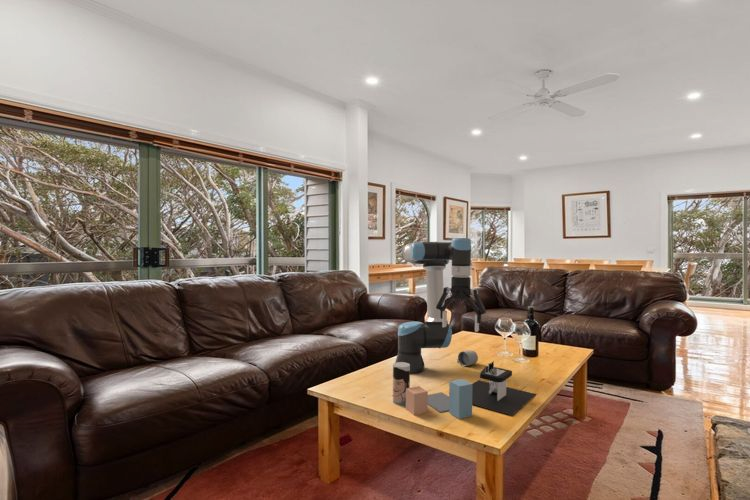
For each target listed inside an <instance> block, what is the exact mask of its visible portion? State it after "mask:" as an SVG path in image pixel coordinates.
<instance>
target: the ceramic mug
mask: <svg viewBox="0 0 750 500" xmlns="http://www.w3.org/2000/svg"><path fill="white" fill-rule="evenodd" d="M478 360H479V356H478V353H477V352H476V351H474V350H472V349H471V350H469V349H468V350H462V351H460V352H459V353H458V355H457V359H456V362H457V363H458V364H460V365H461V366H462V367H468V366H472V365H475V364H477V362H478Z"/></svg>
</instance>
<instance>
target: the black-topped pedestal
mask: <svg viewBox="0 0 750 500" xmlns="http://www.w3.org/2000/svg"><path fill="white" fill-rule="evenodd" d="M512 376H513V371H512V370H510V369H505V368H501V367H497V366H495V360H493V361H492V362H490V363H488V365H486V364H485V365H484V368H483V369H482V370H481V371H480V373H479V378H480V379H478V380H476V381H474V382H473V383H472V405H475V406H477V407H482V408H485V409H488V410H492V411H495V412H499V413H503V414H506V415H509V416H513V415H514V414H516V413H517V412H518V411H519V410H520V409H521V408H523V406H525V405H526V404H527V403H528V402H530V401H531V399H533V398H534V397H535V396H536V395H537V393H535V392H534V393H533V392H530V391H525V390H520V389H517V388H513V387H509V386H507V380H508V379H509V378H511V377H512ZM481 379H482V380H481ZM484 380H485V381H484ZM488 381H489V382H488Z"/></svg>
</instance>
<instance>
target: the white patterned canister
mask: <svg viewBox="0 0 750 500" xmlns="http://www.w3.org/2000/svg"><path fill="white" fill-rule="evenodd" d="M410 386H411V374H410V364H409V363H405V362H397V363H395V362H394V363H393V364H392V403H393V404H395V405H397V406H398V405H399V406H406V389H407V388H411V387H410Z"/></svg>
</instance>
